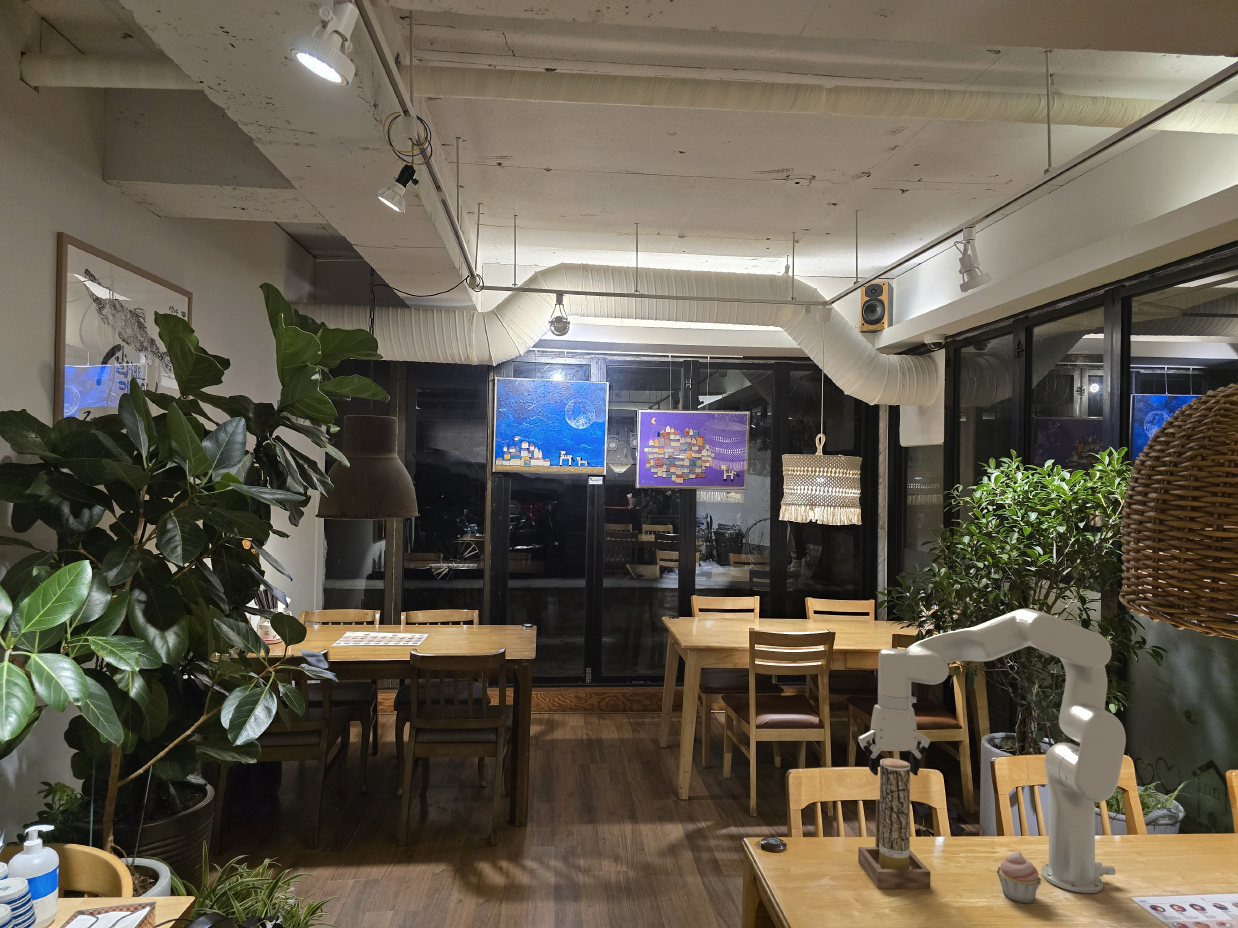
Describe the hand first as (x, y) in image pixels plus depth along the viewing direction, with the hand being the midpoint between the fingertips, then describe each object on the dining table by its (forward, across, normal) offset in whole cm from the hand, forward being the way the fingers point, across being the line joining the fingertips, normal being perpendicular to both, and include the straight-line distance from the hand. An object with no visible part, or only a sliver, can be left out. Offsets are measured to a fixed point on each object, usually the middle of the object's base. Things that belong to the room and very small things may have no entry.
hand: (893, 773), depth 183 cm
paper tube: (+23, 0, 0) cm, 23 cm away
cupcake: (+24, -25, +10) cm, 36 cm away
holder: (+24, 0, 0) cm, 24 cm away
